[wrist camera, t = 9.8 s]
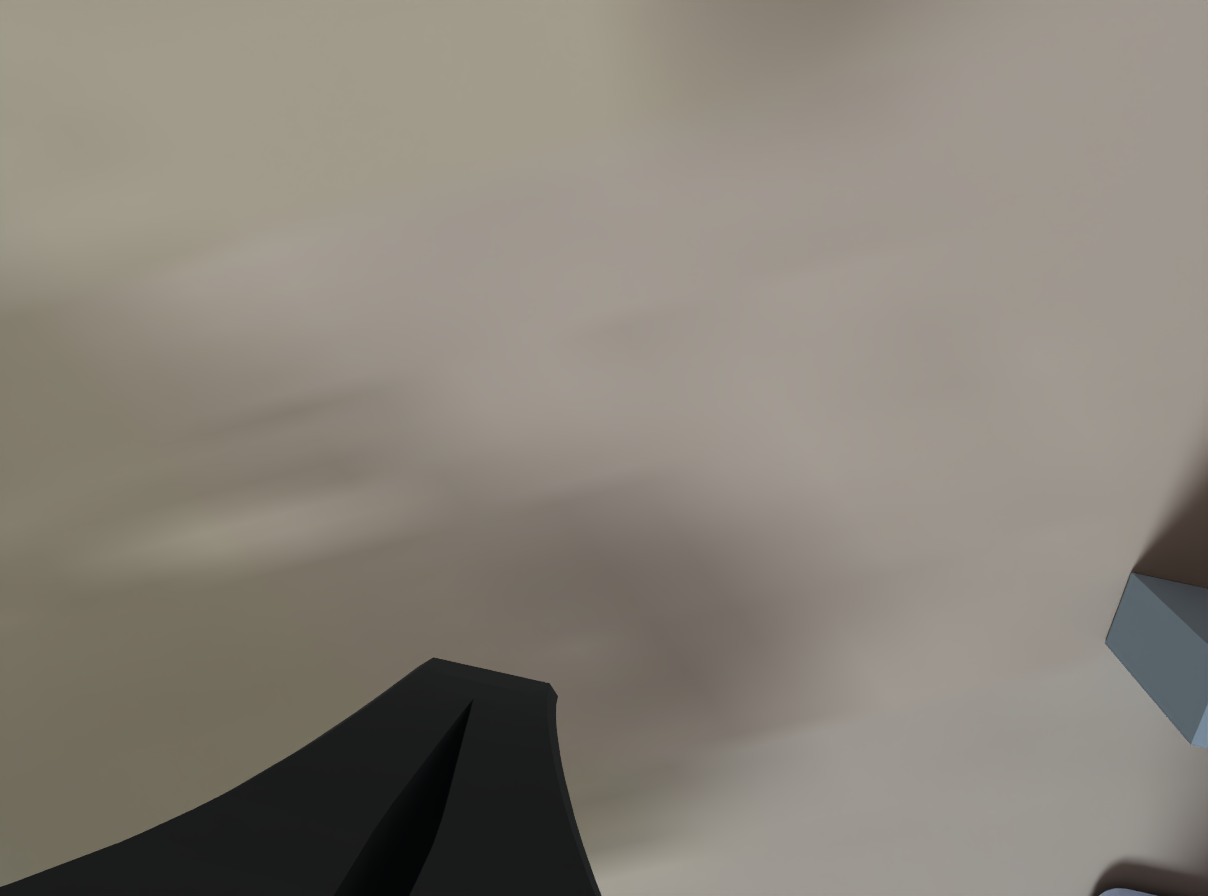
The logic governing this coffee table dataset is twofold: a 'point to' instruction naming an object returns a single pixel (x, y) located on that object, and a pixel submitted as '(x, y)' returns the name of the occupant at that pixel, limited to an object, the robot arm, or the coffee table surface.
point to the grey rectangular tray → (1167, 648)
